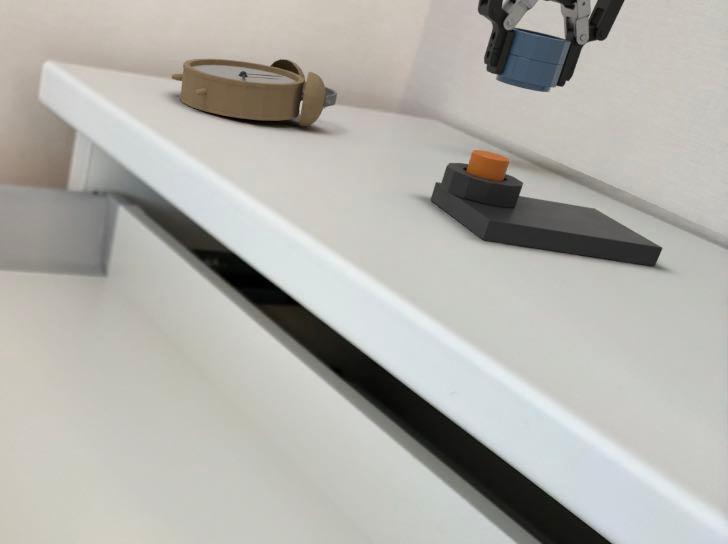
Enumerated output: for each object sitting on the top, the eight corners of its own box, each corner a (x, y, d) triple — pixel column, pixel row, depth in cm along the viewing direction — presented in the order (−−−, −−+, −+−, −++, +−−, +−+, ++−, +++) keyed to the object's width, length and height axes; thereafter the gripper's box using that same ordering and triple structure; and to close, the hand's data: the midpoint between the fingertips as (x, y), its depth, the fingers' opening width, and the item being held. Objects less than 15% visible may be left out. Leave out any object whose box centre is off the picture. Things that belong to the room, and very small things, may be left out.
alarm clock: (165, 55, 103) (313, 50, 107) (164, 110, 106) (309, 103, 109) (202, 79, 94) (361, 73, 98) (200, 139, 97) (355, 130, 101)
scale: (586, 224, 88) (600, 186, 87) (655, 266, 80) (672, 225, 78) (424, 198, 84) (436, 158, 83) (478, 239, 76) (493, 196, 74)
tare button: (492, 177, 83) (500, 153, 82) (508, 186, 81) (516, 162, 80) (459, 171, 82) (466, 147, 81) (474, 181, 80) (482, 156, 79)
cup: (536, 84, 106) (552, 34, 104) (564, 96, 101) (582, 44, 99) (481, 74, 105) (496, 23, 103) (507, 86, 100) (524, 33, 98)
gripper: (535, -144, 90) (471, 73, 98) (686, -108, 93) (611, 99, 102) (498, -146, 96) (440, 59, 104) (640, -111, 99) (573, 84, 108)
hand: (525, 78), depth 103 cm, fingers closed on cup, 6 cm apart
